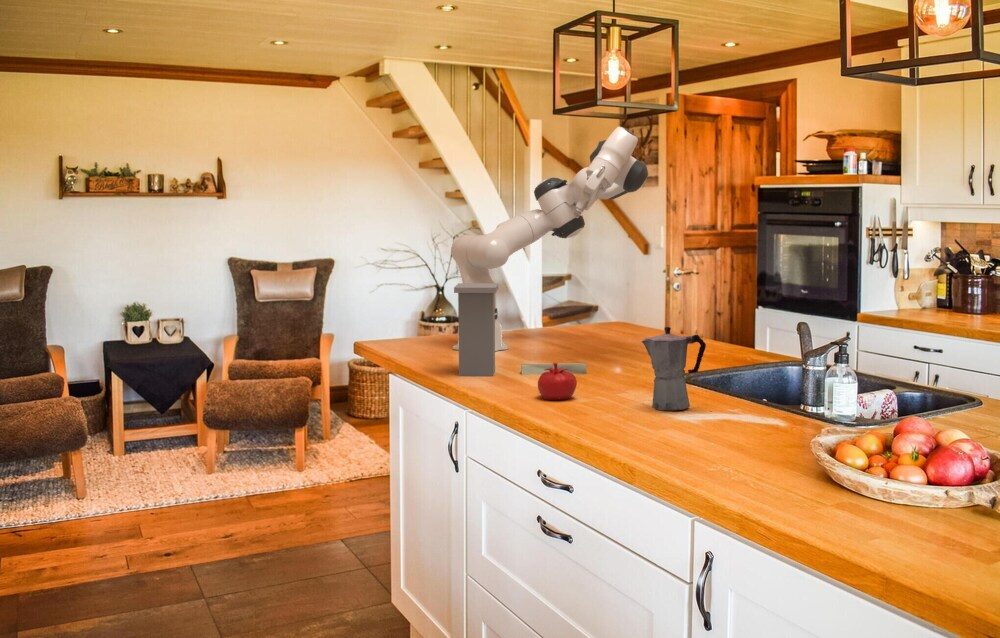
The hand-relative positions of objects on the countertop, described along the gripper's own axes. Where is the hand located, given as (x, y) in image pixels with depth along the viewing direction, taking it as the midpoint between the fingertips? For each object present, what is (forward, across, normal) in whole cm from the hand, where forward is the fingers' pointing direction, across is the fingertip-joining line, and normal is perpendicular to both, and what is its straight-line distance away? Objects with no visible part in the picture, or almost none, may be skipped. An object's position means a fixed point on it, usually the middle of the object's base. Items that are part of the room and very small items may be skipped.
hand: (576, 212), depth 278 cm
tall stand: (+56, +7, -1) cm, 56 cm away
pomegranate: (+52, -28, -24) cm, 64 cm away
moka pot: (+40, -40, -49) cm, 75 cm away
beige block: (+44, +6, -20) cm, 48 cm away
